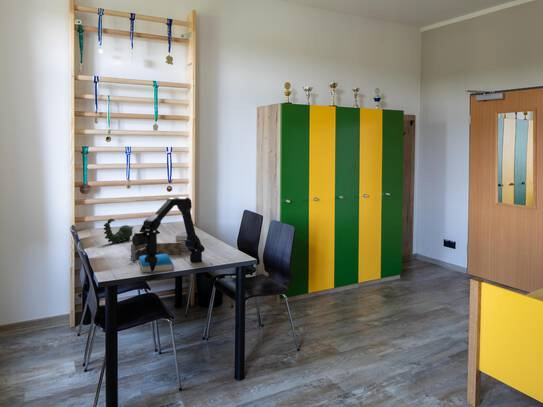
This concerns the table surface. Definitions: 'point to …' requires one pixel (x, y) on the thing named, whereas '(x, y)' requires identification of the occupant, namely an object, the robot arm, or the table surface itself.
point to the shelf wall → (165, 248)
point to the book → (161, 264)
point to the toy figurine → (122, 234)
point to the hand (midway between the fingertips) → (152, 271)
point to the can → (182, 241)
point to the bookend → (134, 252)
